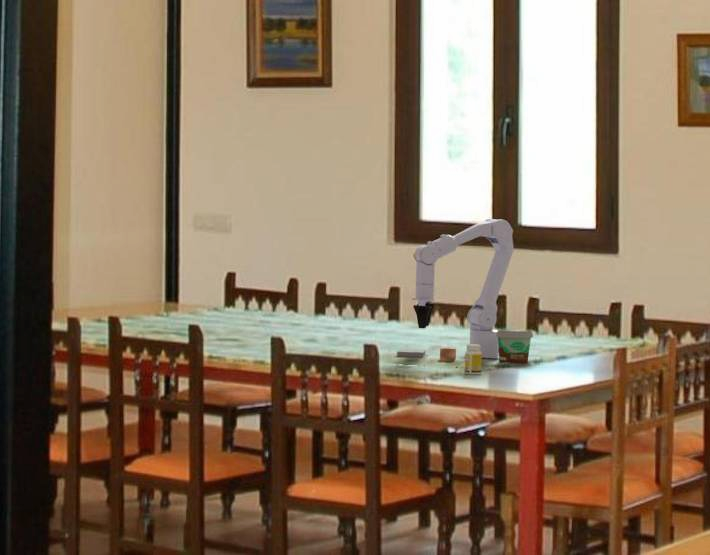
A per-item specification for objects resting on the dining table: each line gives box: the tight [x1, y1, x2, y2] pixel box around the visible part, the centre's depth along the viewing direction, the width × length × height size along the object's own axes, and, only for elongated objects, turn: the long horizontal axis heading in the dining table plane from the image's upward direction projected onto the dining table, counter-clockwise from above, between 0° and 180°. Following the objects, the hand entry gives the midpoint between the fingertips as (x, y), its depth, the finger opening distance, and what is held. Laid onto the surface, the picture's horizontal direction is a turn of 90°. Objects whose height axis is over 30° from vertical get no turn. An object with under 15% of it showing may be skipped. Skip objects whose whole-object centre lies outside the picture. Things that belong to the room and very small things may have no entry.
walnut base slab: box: [393, 353, 429, 359], centre depth 434 cm, size 10×10×2 cm
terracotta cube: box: [439, 346, 457, 362], centre depth 426 cm, size 4×4×4 cm
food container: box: [496, 328, 534, 364], centre depth 430 cm, size 12×6×10 cm, turn 114°
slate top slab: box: [396, 348, 426, 359], centre depth 434 cm, size 8×8×2 cm
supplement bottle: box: [464, 343, 483, 376], centre depth 401 cm, size 5×5×8 cm
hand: (423, 327), depth 435 cm, fingers open, 7 cm apart
